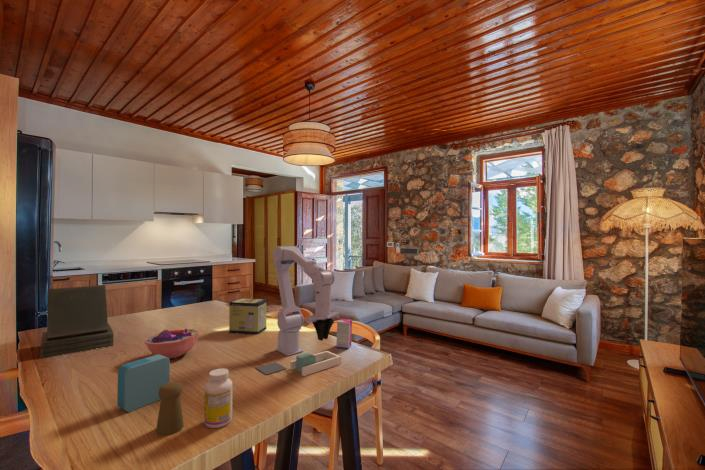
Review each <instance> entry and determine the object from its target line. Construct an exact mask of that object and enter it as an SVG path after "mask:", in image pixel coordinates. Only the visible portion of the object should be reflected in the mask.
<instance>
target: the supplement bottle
mask: <svg viewBox="0 0 705 470" xmlns="http://www.w3.org/2000/svg"><path fill="white" fill-rule="evenodd" d="M229 372H230V371H229V369H228V368H223V367H222V368H216V369H213V370H211V371H210V372H209V373H208V374H209V375H208V379H209V381H207V383H206V384H205V386H204V425H205V426H206V427H207V428H210V429H218V428H222V427H224V426H227V425H228V424H230V422H232V419H233V381H232V380H231V378H229V375H230V374H229Z"/></svg>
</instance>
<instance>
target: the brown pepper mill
mask: <svg viewBox="0 0 705 470" xmlns="http://www.w3.org/2000/svg"><path fill="white" fill-rule="evenodd" d="M182 393H183V385H182V384H181V382H178V381H170V382H169V383H166V384H164V385H162V386H161V387H160V389H159V392H158V395H159V398H160V399H161V400H160V404H159V410H158V417H157V421H156V422H157V424H156V430H155V434H156V435H158V436H161V437H164V436H171V435H174V434H177V433H179V432H180V431H181V430H183V428H184V419H183V418H184V417H183V409H182V404H181V403H182V401H181V395H182Z"/></svg>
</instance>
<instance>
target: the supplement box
mask: <svg viewBox="0 0 705 470" xmlns="http://www.w3.org/2000/svg"><path fill="white" fill-rule="evenodd" d="M352 332H353V319H348V318H347V319H346V318H339V320H337V321H336V343H335V344H336V345H335V346H336V347H335V348H336V349H343V350H349V349H350V347H352V338H353V337H352V335H353V334H352Z"/></svg>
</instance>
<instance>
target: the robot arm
mask: <svg viewBox="0 0 705 470" xmlns="http://www.w3.org/2000/svg"><path fill="white" fill-rule="evenodd" d="M272 260H273V266H274V268H275V272H276V278H277V283H278V289H279V295H280V301H281V307H282V308H281V309H280V310H279V311H278V313H277V321H276V323H277V328H278V329H279V331H278V333H277V347H276V348H275V351H277V352H279V353H281V354H283V355H284V356H287V357H288V356H291V355H295V354H299V353H302V352H304V349H302V348H300V330H301V329H302V327H303V326H304V322H305V323H306V324H311V323H312V324H313V327H314V329H315V331H316V335H317V340H319V341H320V342H321V341H323V340H328V338H329V334H330V330H331V328H332V326H333V324H334V323H335V322H334V321H335V320H334V319H335V318H336V319H337V318H338V319H339V318H340V312H339V311H331V308H332V307H331V305H332V303H331V302H332V285H333V284H334V283H335V275H334V273H333V271H331V270H330V269H329V270H326V269H324V267H323V266H320V265H319V264H318V263H317V261H316V260H309V259H308V258H307V257H306V256H305V255H304V254H303V253H302V252H301V250H300V248H299V247H298V246H297V245H292V246H289V245H288V246H285V245H284V246H283V245H282V246H280V245H277V246H275V248H274V249H273V252H272ZM295 263H296V264H297V265H299V266H300V267H301V268H302V270H303V273H304V274H306V276H308V277H309V278H310V279H311V281H312V284H313V289H314V291H315V313H314V314H312V315H310V316H305V317H304V315H303V314H302V311H301V308H300V307H298V306H297V305H296V303H295V298H294V297H295V296H294V292H293V287H292V286H293V285H292V281H291V276H290V271H289V270H290V268H291V267H292V266H293V265H294V264H295Z"/></svg>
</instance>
